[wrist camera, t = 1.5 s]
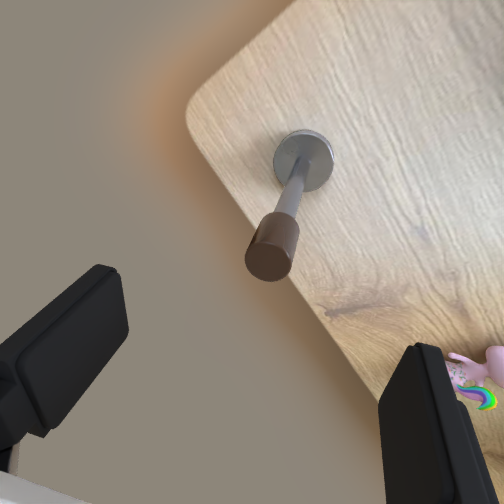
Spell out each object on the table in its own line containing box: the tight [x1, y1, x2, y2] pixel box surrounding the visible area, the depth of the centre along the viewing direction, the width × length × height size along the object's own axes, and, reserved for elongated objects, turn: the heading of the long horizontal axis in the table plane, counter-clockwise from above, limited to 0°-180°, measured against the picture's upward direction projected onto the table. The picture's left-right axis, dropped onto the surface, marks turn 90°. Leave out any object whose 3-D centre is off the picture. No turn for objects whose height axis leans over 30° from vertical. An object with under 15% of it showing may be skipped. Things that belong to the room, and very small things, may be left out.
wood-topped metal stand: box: [245, 130, 334, 282], centre depth 19 cm, size 5×5×15 cm
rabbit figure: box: [445, 346, 504, 410], centre depth 29 cm, size 6×6×15 cm
